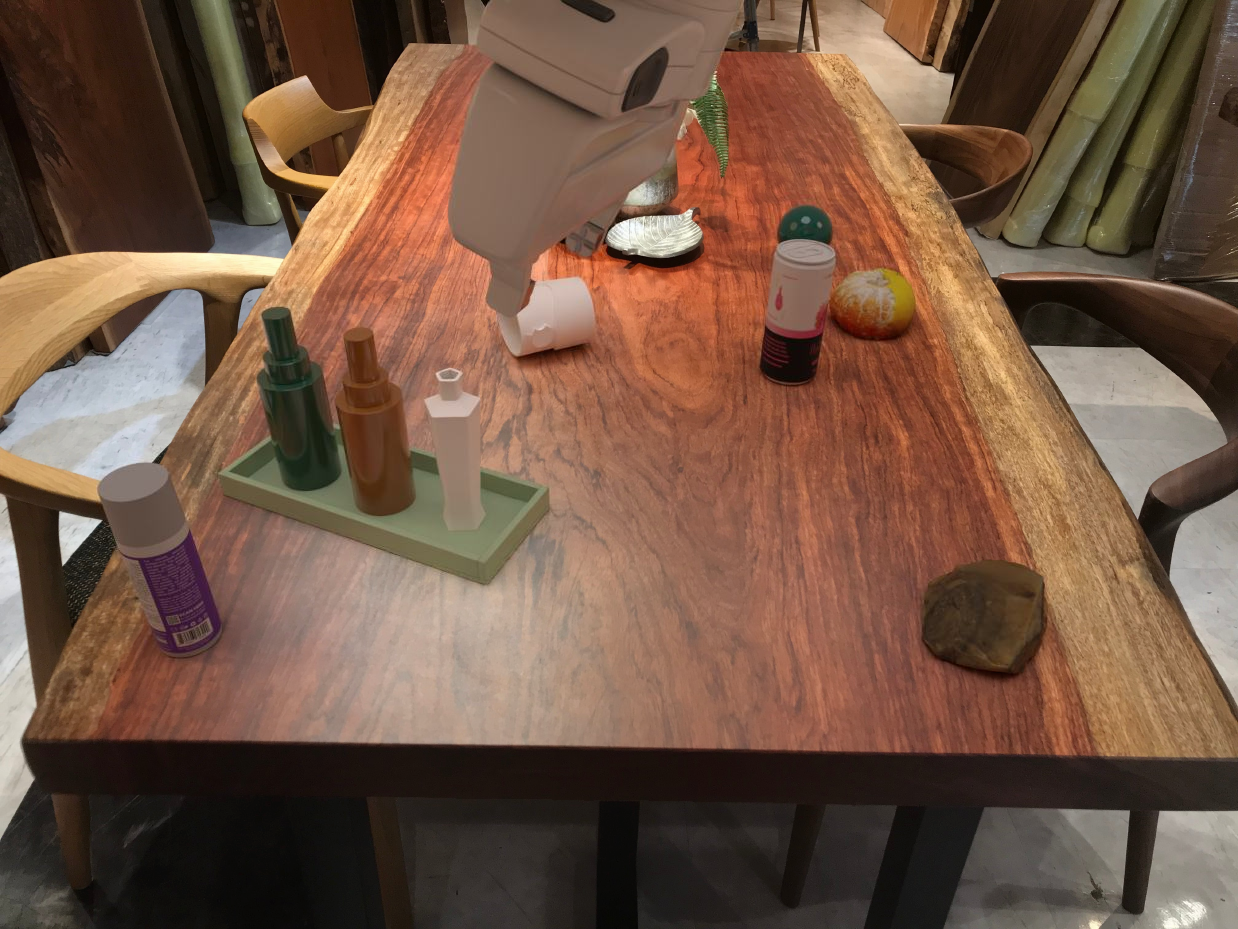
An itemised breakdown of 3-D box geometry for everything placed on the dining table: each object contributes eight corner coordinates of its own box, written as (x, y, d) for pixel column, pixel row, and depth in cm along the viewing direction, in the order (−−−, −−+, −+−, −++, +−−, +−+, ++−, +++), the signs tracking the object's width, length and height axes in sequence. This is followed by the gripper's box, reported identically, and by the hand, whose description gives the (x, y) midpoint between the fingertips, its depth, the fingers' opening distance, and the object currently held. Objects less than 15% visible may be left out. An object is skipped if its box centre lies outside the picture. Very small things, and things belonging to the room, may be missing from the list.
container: (230, 612, 71) (180, 460, 63) (212, 657, 68) (156, 502, 59) (170, 614, 71) (111, 461, 62) (148, 658, 67) (82, 503, 59)
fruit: (833, 293, 121) (861, 242, 116) (903, 329, 119) (934, 279, 114) (812, 326, 112) (841, 272, 107) (887, 365, 111) (920, 313, 106)
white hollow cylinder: (597, 356, 106) (598, 295, 102) (523, 371, 103) (520, 308, 98) (561, 314, 115) (560, 255, 110) (491, 327, 112) (487, 267, 107)
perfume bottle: (426, 524, 80) (406, 379, 71) (458, 498, 83) (443, 356, 74) (466, 542, 78) (451, 396, 69) (497, 515, 81) (486, 372, 72)
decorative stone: (1039, 695, 67) (1055, 663, 64) (911, 656, 69) (922, 624, 67) (1043, 602, 74) (1056, 571, 72) (928, 570, 77) (938, 540, 75)
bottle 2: (392, 522, 80) (365, 356, 70) (341, 506, 82) (307, 341, 72) (428, 488, 84) (406, 326, 74) (378, 473, 86) (351, 312, 76)
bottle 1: (316, 497, 83) (279, 333, 73) (268, 481, 84) (225, 319, 74) (354, 465, 87) (324, 305, 77) (308, 451, 89) (272, 293, 79)
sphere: (767, 264, 129) (774, 210, 124) (780, 245, 135) (787, 193, 130) (822, 274, 127) (831, 220, 122) (833, 254, 133) (842, 201, 128)
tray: (549, 508, 83) (549, 486, 82) (486, 585, 75) (484, 563, 73) (305, 433, 92) (300, 412, 91) (223, 494, 84) (217, 473, 82)
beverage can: (826, 380, 103) (849, 257, 94) (777, 391, 101) (795, 266, 92) (796, 354, 108) (815, 235, 99) (749, 364, 106) (763, 243, 97)
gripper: (650, -26, 49) (575, 200, 58) (459, 11, 33) (393, 316, 42) (751, 24, 48) (660, 245, 57) (606, 87, 32) (508, 381, 41)
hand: (546, 276), depth 49 cm, fingers open, 8 cm apart
